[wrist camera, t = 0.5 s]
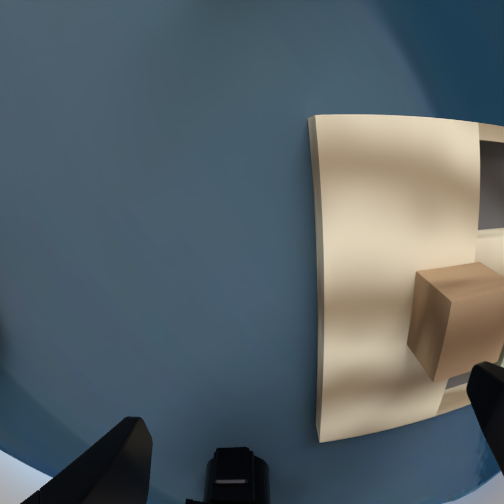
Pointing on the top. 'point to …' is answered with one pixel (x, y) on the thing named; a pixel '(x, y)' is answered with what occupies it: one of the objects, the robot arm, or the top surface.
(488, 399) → the robot arm
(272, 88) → the top surface
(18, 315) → the top surface
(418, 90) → the top surface
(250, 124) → the top surface
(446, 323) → the walnut block
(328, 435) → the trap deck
